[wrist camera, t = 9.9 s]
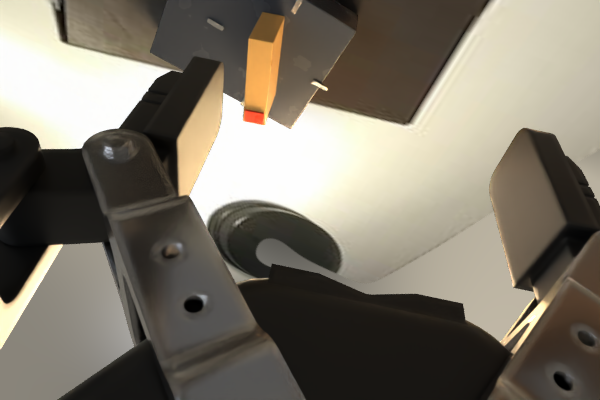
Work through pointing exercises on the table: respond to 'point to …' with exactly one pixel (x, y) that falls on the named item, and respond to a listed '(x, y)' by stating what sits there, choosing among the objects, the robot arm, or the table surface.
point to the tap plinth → (234, 44)
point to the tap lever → (262, 67)
